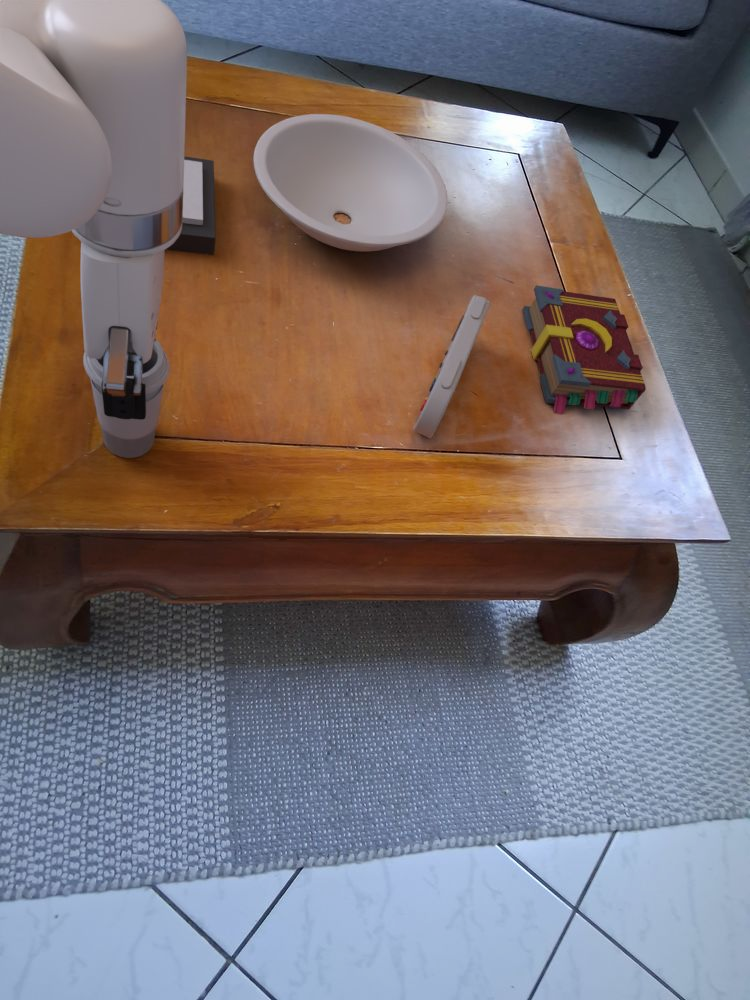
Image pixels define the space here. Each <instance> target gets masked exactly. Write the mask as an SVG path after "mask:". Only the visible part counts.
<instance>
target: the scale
mask: <svg viewBox="0 0 750 1000" xmlns="http://www.w3.org/2000/svg"><path fill="white" fill-rule="evenodd" d="M214 162H215V161H214V160H213V159H204V158H197V157H193V156H192V157H191V156H185V155H184V183H183V218H182V230H181V233H180V235H179V237H178V239H177V240H176V241H175V242H174V243H173V244H172V245H171V246H170V247H168V248H167V249H165V251H175V252H183V253H194V254H200V255H211V256H214V255H215V246H216V207H215V206H216V204H215V203H216V201H215V200H216V199H215V163H214Z"/></svg>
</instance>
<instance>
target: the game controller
mask: <svg viewBox="0 0 750 1000" xmlns="http://www.w3.org/2000/svg"><path fill="white" fill-rule="evenodd" d="M490 305H491V302H490V301H489V300H488V299H486V298H485V297H483V296H480V295H476V294H474V295H472V297H471V299H470V301H469V303H468V305H467V307H466V310H465V311H464V314H463V315H462V316H461V318H460V320H459V323H458V325H457V327H456V329H455V331H454V334H453V336H452V338H451V342H450V344H449V346H448V349H447V350H445V352H444V355H445V356H444V358H443V360H442V362H440V363H439V366H438V367H439V369H438V372H437V374H436V376H435V377H434V378H433V380H432V382H431V385H430V387H429V390H428V391H429V392H428V395H427V396H425V398H424V400H423V402H422V404H421V406H420V409H419V415H418V417H417V419H416V421H415V424H414V426H413V431H414V432H415V433H418V434H420V435H422V436H424V437H426V438H429V439H430V438H433V435H434V434H435V432H436V430H437V428H438V427H439V425H440V422H441V421H442V418H443V416H444V414H445V412H446V410H447V408H448V406H449V404H450V401H451V400H452V398H453V395H454V393H455V391H456V388H457V386H458V383H459V381H460V379H461V377H462V374H463V372H464V369H465V367H466V364H467V362H468V360H469V357H470V354H471V352H472V350H473V348H474V345H475V342H476V339H477V338H478V335H479V333H480V330H481V327H482V325H483V324H484V320H485V318H486V315H487V313H488V310H489V308H490Z"/></svg>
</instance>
